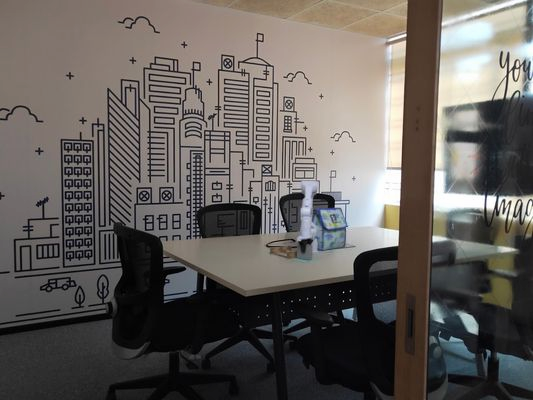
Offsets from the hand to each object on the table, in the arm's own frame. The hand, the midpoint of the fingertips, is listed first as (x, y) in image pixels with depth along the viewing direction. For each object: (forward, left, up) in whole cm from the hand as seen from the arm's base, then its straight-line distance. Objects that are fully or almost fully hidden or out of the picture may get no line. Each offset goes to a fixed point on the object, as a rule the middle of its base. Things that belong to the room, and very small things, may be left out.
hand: (305, 252), depth 247 cm
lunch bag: (-38, -18, -5) cm, 43 cm away
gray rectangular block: (0, 0, -4) cm, 4 cm away
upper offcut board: (-5, -14, -4) cm, 16 cm away
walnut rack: (-1, -14, -4) cm, 15 cm away
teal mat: (0, 0, -4) cm, 4 cm away
